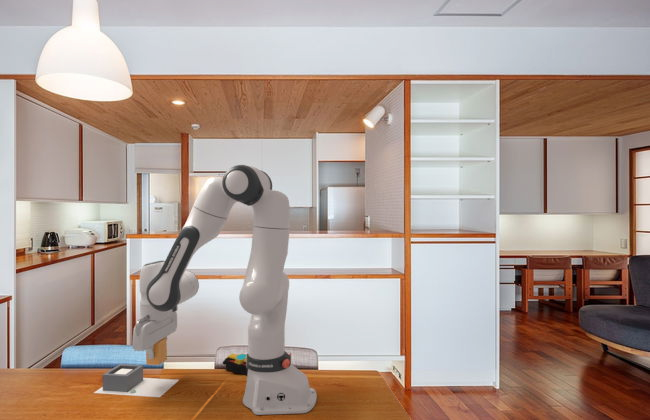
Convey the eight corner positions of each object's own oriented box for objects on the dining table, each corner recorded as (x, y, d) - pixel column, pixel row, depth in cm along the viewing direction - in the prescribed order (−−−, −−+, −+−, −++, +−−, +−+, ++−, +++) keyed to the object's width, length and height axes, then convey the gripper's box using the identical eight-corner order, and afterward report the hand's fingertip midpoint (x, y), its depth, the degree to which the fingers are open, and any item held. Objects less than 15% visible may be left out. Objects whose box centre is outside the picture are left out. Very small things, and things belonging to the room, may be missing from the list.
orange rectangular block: (166, 359, 128) (166, 338, 128) (159, 365, 123) (158, 342, 123) (154, 359, 128) (153, 337, 128) (146, 364, 124) (145, 342, 124)
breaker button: (132, 379, 129) (132, 369, 129) (125, 385, 125) (125, 374, 125) (121, 379, 130) (121, 368, 130) (113, 384, 126) (113, 373, 126)
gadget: (255, 380, 136) (257, 365, 135) (220, 371, 138) (223, 356, 138) (262, 373, 142) (264, 358, 142) (229, 364, 145) (231, 349, 144)
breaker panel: (179, 382, 131) (179, 365, 131) (159, 400, 119) (159, 380, 119) (118, 379, 134) (118, 361, 134) (93, 396, 122) (93, 376, 122)
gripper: (145, 321, 115) (147, 368, 115) (180, 304, 135) (181, 344, 135) (125, 321, 116) (127, 367, 116) (163, 303, 136) (164, 343, 136)
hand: (156, 354), depth 126 cm, fingers closed on orange rectangular block, 4 cm apart
